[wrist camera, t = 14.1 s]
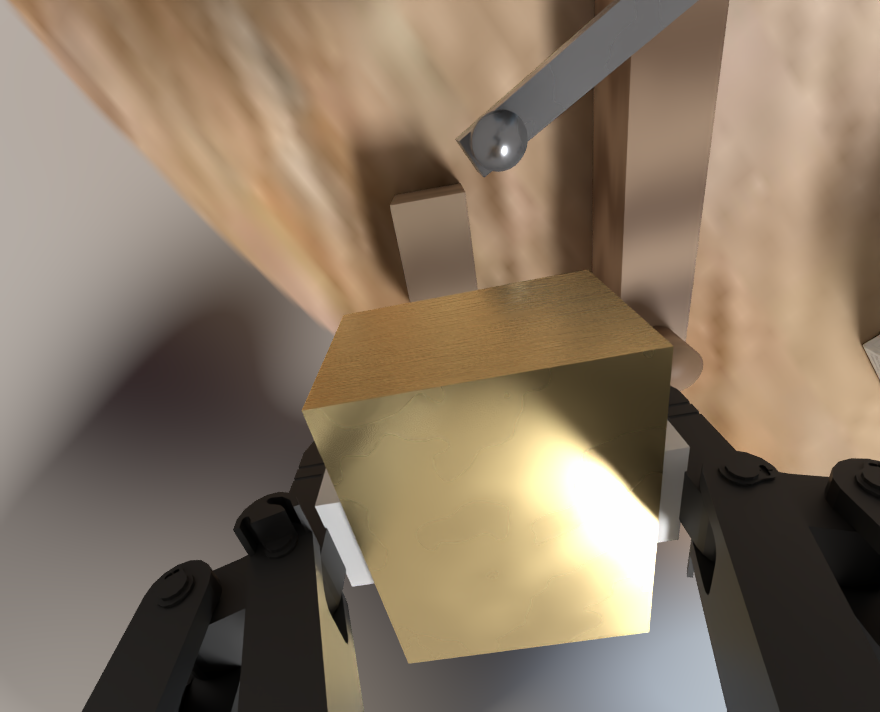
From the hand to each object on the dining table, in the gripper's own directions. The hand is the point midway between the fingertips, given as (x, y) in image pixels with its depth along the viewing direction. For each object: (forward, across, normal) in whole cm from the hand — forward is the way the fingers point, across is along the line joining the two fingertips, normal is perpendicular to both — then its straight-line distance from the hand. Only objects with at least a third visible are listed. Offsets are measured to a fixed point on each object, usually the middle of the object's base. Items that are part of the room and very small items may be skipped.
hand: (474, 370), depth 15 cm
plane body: (+16, +12, +2) cm, 20 cm away
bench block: (+16, -1, 0) cm, 16 cm away
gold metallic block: (-3, 0, 0) cm, 3 cm away
